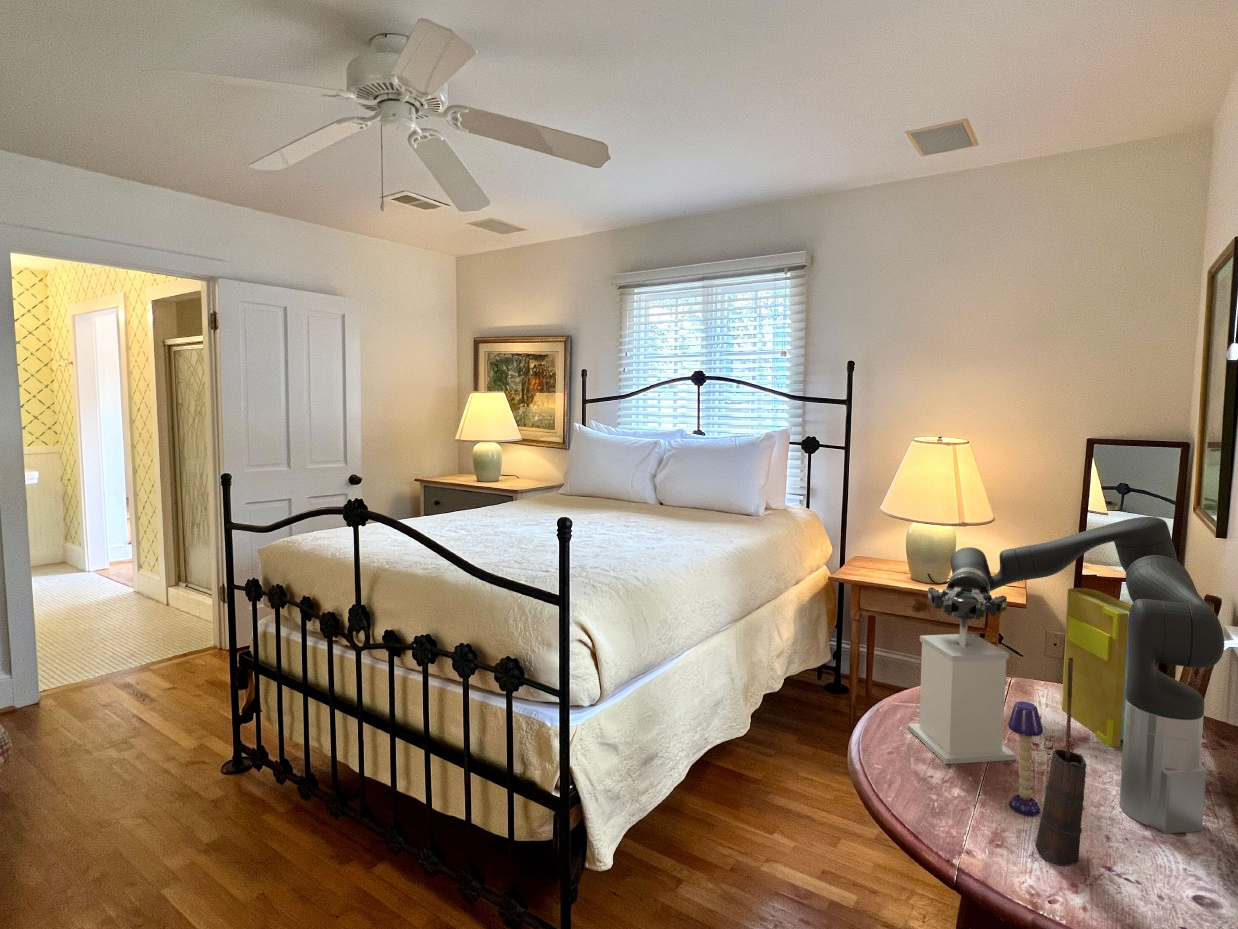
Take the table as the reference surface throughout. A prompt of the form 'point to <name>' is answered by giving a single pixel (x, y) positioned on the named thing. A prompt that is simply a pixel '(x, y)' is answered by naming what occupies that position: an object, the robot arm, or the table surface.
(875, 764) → the table surface
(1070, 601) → the book
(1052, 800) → the butter churn
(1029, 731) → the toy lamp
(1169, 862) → the table surface
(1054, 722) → the table surface
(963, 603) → the plunger
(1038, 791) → the table surface
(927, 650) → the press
